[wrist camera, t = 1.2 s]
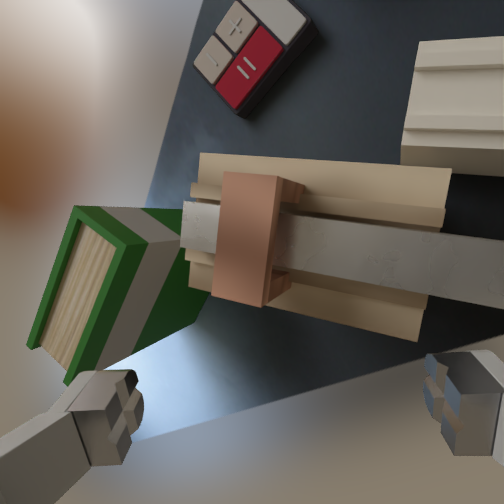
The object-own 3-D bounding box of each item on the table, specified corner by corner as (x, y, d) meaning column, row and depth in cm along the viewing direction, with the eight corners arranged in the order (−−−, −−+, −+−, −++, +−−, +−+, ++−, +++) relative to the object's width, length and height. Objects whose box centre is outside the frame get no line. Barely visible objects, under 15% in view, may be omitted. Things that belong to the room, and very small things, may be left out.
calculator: (188, 63, 50) (255, -38, 43) (204, 73, 53) (268, -18, 47) (233, 114, 48) (311, 16, 41) (247, 121, 51) (320, 32, 45)
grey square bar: (208, 201, 25) (182, 199, 22) (658, 258, 16) (719, 268, 13) (204, 244, 25) (178, 248, 22) (638, 324, 16) (693, 348, 13)
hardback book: (194, 322, 57) (68, 387, 36) (162, 297, 60) (26, 344, 38) (240, 233, 52) (126, 245, 31) (204, 210, 55) (74, 205, 33)
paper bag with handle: (298, 184, 48) (150, 136, 19) (421, 195, 42) (471, 150, 13) (288, 253, 50) (138, 303, 21) (406, 273, 44) (423, 383, 15)
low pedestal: (411, 103, 42) (420, 36, 26) (554, 103, 36) (668, 19, 21) (400, 169, 43) (401, 143, 27) (536, 178, 37) (631, 152, 22)
